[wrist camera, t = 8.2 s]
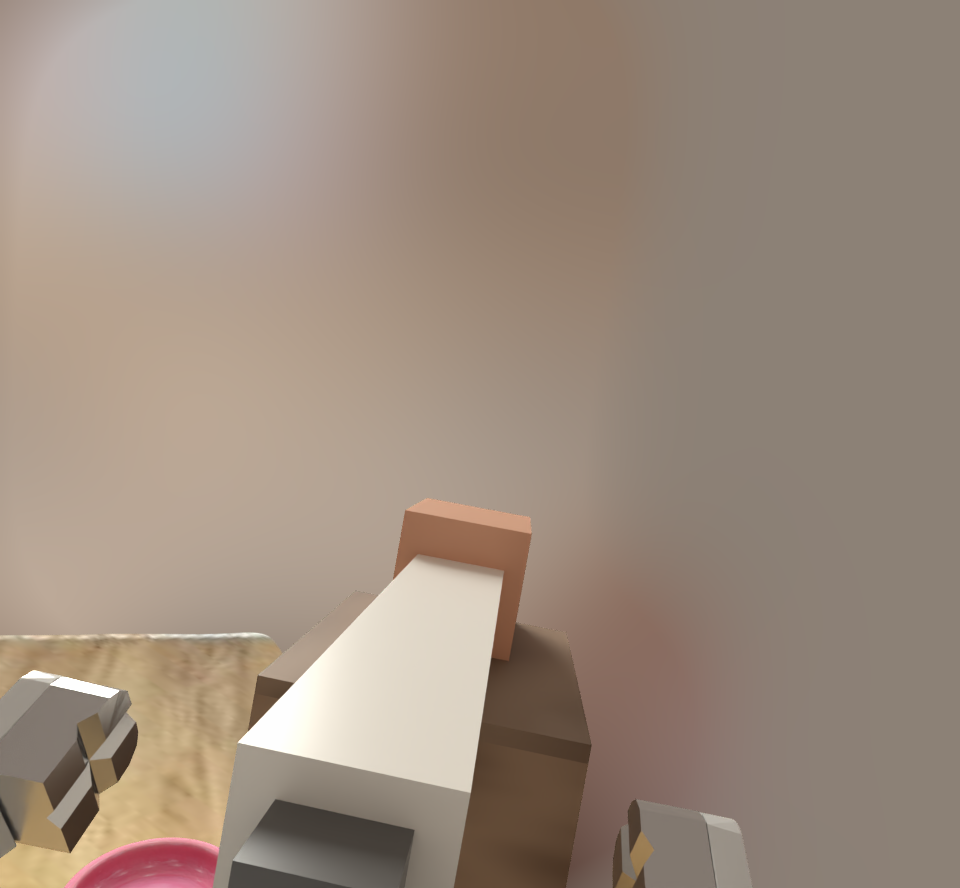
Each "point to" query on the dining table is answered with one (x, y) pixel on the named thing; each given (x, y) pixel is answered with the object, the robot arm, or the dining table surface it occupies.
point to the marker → (383, 721)
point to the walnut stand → (496, 752)
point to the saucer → (152, 866)
